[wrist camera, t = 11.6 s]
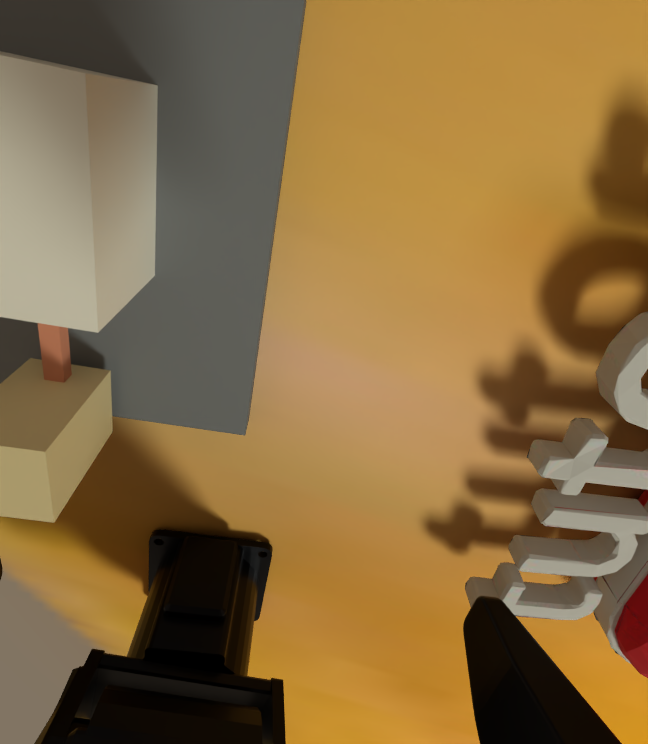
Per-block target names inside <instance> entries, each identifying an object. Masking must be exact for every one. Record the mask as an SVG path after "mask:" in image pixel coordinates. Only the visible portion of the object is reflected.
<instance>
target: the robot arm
mask: <svg viewBox="0 0 648 744" xmlns="http://www.w3.org/2000/svg"><path fill="white" fill-rule="evenodd" d="M263 551H264V552H263ZM271 557H272V546H271V545H270V544H269V543H266V542H259V541H251V540H243V539H235V538H227V537H218V536H210V535H202V534H194V533H186V532H177V531H169V530H155V531H154V532H152V535H151V537H150V540H149V594H148V597H147V600H146V603H145V606H144V609H143V611H142V614H141V617H140V620H139V623H138V626H137V629H136V631H135V634H134V637H133V640H132V643H131V646H130V649H129V651H128V654H127V657H126V656H119V655H113V654H107V653H105V651H104V650H97V649H92V650H91V652H90V654H89V656H88V658H87V660H86V663H85V664H84V666H82V667H81V666H80V667H79V668H76V669H73V670H72V673H71V675H70V677H69V680H68V682H67V684H66V686H65V689H64V691H63V693H62V695H61V698H60V700H59V702H58V704H57V706H56V708H55V710H54V712H53V714H52V716H51V717H50V719H49V721H48V722H47V724H46V726H45V727H44V729H43V730H42V732H41V734H40V735H39V737H38V739H37V740H36V742H35V743H34V744H286V742H285V717H284V691H283V680H282V679H275V678H271V680H267V679H261V678H255V677H249V676H247V673H248V665H249V657H250V649H251V641H252V633H253V625H254V621H256V620H258V619H259V617H260V612H261V607H262V602H263V597H264V592H265V587H266V582H267V577H268V572H269V567H270V562H271ZM1 576H2V564H1V559H0V579H1ZM463 632H464V641H465V648H466V656H467V664H468V672H469V679H470V687H471V695H472V703H473V709H474V716H475V721H476V726H477V731H478V736H479V740H480V744H622V743H621V742H620V741H619V740H618V739H617V737H616V736H615V735H614V734H613V733H612V731H611V730H610V729H609V728H608V727H607V725H606V724H605V723H604V722H603V721H602V719H601V718H600V717H599V716H598V715H597V713H596V712H595V711H594V710H593V709H592V707H591V706H590V705H589V704H588V703H587V701H586V700H585V699H584V698H583V697H582V696H581V694H580V693H579V692H578V691H577V690H576V688H575V687H574V686H573V685H572V684H571V682H570V681H569V680H568V679H567V678H566V676H565V675H564V674H563V673H562V672H561V670H560V669H559V668H558V667H557V666H556V664H555V663H554V662H553V661H552V660H551V658H550V657H549V656H548V655H547V654H546V652H545V651H544V650H543V649H542V648H541V646H540V645H539V644H538V643H537V642H536V640H535V639H534V638H533V637H532V636H531V634H530V633H529V632H528V631H527V630H526V628H525V627H524V626H523V625H522V624H521V622H520V621H519V620H518V619H517V618H516V616H515V615H514V614H513V613H512V612H511V610H510V609H509V608H508V607H507V606H506V604H505V603H504V602H503V601H502V600H501V599H499V598H497V597H490V596H479V597H477V598H476V600H475V602H474V604H473V605H472V607H471V609H470V611H469V613H468V614H467V616H466V618H465V621H464V626H463Z"/></svg>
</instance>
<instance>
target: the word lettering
mask: <svg viewBox="0 0 648 744" xmlns="http://www.w3.org/2000/svg"><path fill="white" fill-rule="evenodd" d="M644 313H645V314H644ZM644 313H641V314H639V315H638V316H636V317H635V318H634V319H632V320H631V321H630V322H629V323H627V324H626V325H625V326H624V327H623V328H622V329H621V331H619V332H618V333H617V335H616V336H615V337H614V338H613V340H612V341H611V342H610V344H609V345H608V347H607V349H606V351H605V353H604V356H603V358H602V360H601V362H600V364H599V366H598V369H597V371H596V377H597V382H598V387H599V392H600V395H601V396H602V397H603V398H604V399H605V400H606V401H607V402H608V403H609V404H610V405H611V406H612V407H613V408H614V409H615V410H616V411H617V412H618V413H619V414H620V415H621V416H622V417H623V418H624V419H625V420H626V421H627V422H629V423H632V424H634V425H637V426H639V427H642V428H645V429H647V430H648V389H643V388H642V385H641V378H642V376H643V375H644V373H645V372H646V370H647V369H648V311H647V312H644ZM607 443H608V437H607V436H606V435H605V434H604V433H603V432H602V431H601V430H600V429H599V428H598V427H597V426H596V425H595V424H594V422H593V421H592V420H591V419H586V418H575V419H574V420H572V421H571V422H570V425H569V427H568V429H567V432H566V434H565V436H564V438H563V441H562V442H557V441H549V440H541V439H537V440H534V441H533V443H532V445H531V447H530V450H529V453H528V455H527V458H528V459H529V460H530V461H531V463H532V464H533V466H534V467H535V468H536V470H537V472H538V473H539V475H540V476H541V477H544V478H550V479H551V480H552V482H553V483H554V485H555V486H556V488H557V490H553V489H545V488H541V489H539V490H537V491H536V492H535V495H534V497H533V500H532V502H531V505H532V507H533V509H534V511H535V513H536V515H537V517H538V519H539V521H540V523H542V524H543V525H545V526H551V527H561V528H570V529H580V530H589V531H599V532H601V533H600V534H598V535H597V536H595V537H594V538H591V539H588V540H568V539H557V538H546V537H535V536H523V535H514V537H513V538H512V540H511V542H510V544H509V551H510V553H511V555H512V558H513V560H514V562H515V564H516V565H515V564H512V563H509V562H505V563H500V565H499V566H498V568H497V570H496V572H495V574H494V576H493V578H492V579H489V578H481V577H470V578H469V580H468V581H467V582H466V585H465V590H466V593H467V597H468V600H469V603H470V606H471V607H472V605H473V604H474V602H475V600H476V598H477V597H479V596H490V597H497V598H499V599H501V600H502V601H503V602H504V603H505V604H506V606H507V607H508V608H509V609H510V610H511V612H512V613H513V614H514V615H515V616H520V617H533V618H545V619H557V620H577V619H580V618H582V617H584V616H587V615H589V614H591V613H592V612H593V611H594V615H595V618H596V620H598V621H599V623H600V625H601V627H602V628H603V630H604V632H605V634H606V636H607V638H608V640H609V642H610V645H611V647H612V648H613V649H614V651H615V652H616V653H617V654H619V655H620V656H621V657H623V658H624V659H625V660H626V661H627V662H629V663H631V664H632V665H633V666H634V667H635V668H636V670H637V671H638V672H639V673H640V674H642V675H643V676H645V677H647V678H648V449H646V450H644V451H641V452H640V451H632V450H624V449H617V448H609V447H606V445H607ZM585 483H595V484H603V485H612V486H621V487H630V488H639V489H644V491H643V493H642V494H641V496H640V497H639V499H638V500H637V499H632V498H623V497H614V496H606V495H597V494H588V493H580V491H581V489H582V488H583V486H584V484H585ZM519 570H520V571H523V572H534V573H545V574H555V575H566V576H572V577H571V580H570V581H568V582H567V583H562V584H542V583H532V582H523V580H522V577H521V575H520V573H519ZM593 577H594V578H593Z"/></svg>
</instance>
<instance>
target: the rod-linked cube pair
mask: <svg viewBox="0 0 648 744" xmlns="http://www.w3.org/2000/svg"><path fill="white" fill-rule="evenodd" d="M157 98H158V85H154V84H149V83H145V82H140V81H136V80H131V79H126V78H122V77H117V76H113V75H108V74H103V73H99V72H94V71H90V70H85V69H80V68H76V67H71V66H67V65H62V64H57V63H53V62H48V61H44V60H39V59H34V58H30V57H25V56H21V55H16V54H11V53H7V52H2V51H0V317H4V318H10V319H16V320H22V321H29V322H35V323H38V331H39V340H40V348H41V357H42V360H40V359H33V358H30V359H29V360H28V361H26V362H25V363H24V364H23V365H22V366H21V367H19V368H18V369H17V370H16V371H15V372H14V373H12V374H11V375H10V376H9V377H8V378H7V379H5V380H4V381H3V382H2V383H1V384H0V516H3V517H11V518H20V519H28V520H36V521H45V522H53V523H54V522H55V521H56V519H57V518H58V516H59V514H60V513H61V511H62V510H63V508H64V507H65V505H66V504H67V502H68V500H69V499H70V497H71V496H72V494H73V493H74V491H75V489H76V488H77V486H78V485H79V483H80V482H81V480H82V479H83V477H84V475H85V474H86V472H87V471H88V469H89V468H90V466H91V465H92V463H93V461H94V460H95V458H96V457H97V455H98V454H99V452H100V450H101V449H102V447H103V446H104V444H105V443H106V441H107V440H108V438H109V436H110V435H111V433H112V432H113V425H112V397H111V370H105V369H98V368H92V367H85V366H79V365H72V364H71V359H70V347H69V335H68V328H72V329H78V330H84V331H90V332H96V333H98V332H99V331H100V330H101V329H102V328H103V327H104V326H105V325H106V324H107V323H108V322H109V321H110V320H111V319H112V318H113V317H114V316H115V315H116V314H117V313H118V312H119V311H120V310H121V309H122V308H123V307H124V306H125V305H126V304H127V303H128V302H129V301H130V300H131V299H132V298H133V297H134V296H135V295H136V294H137V293H138V292H139V291H140V290H141V289H142V288H143V287H144V286H145V285H146V284H147V283H148V282H149V281H150V280H151V279H152V278H153V277H154V276H155V233H156V166H157Z"/></svg>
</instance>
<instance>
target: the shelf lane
mask: <svg viewBox="0 0 648 744" xmlns="http://www.w3.org/2000/svg"><path fill="white" fill-rule="evenodd" d="M305 7H306V0H0V51H2V52H7V53H11V54H16V55H21V56H25V57H30V58H34V59H39V60H44V61H48V62H53V63H57V64H62V65H67V66H71V67H76V68H80V69H85V70H90V71H94V72H99V73H103V74H108V75H113V76H117V77H122V78H126V79H131V80H136V81H140V82H145V83H149V84H154V85H158V98H157V166H156V233H155V276H154V277H153V278H152V279H151V280H150V281H149V282H148V283H147V284H146V285H145V286H144V287H143V288H142V289H141V290H140V291H139V292H138V293H137V294H136V295H135V296H134V297H133V298H132V299H131V300H130V301H129V302H128V303H127V304H126V305H125V306H124V307H123V308H122V309H121V310H120V311H119V312H118V313H117V314H116V315H115V316H114V317H113V318H112V319H111V320H110V321H109V322H108V323H107V324H106V325H105V326H104V327H103V328H102V329H101V330H100V331H99V332H98V333H96V332H90V331H84V330H78V329H72V328H68V335H69V347H70V359H71V364H72V365H79V366H85V367H92V368H98V369H105V370H111V397H112V416H115V417H122V418H129V419H136V420H142V421H149V422H156V423H163V424H170V425H177V426H184V427H191V428H198V429H204V430H211V431H218V432H225V433H232V434H239V435H245V434H246V429H247V425H248V421H249V414H250V407H251V399H252V392H253V385H254V377H255V370H256V363H257V356H258V348H259V341H260V334H261V327H262V319H263V312H264V305H265V297H266V290H267V283H268V276H269V268H270V261H271V254H272V247H273V239H274V232H275V225H276V217H277V210H278V203H279V196H280V188H281V181H282V174H283V167H284V159H285V152H286V145H287V137H288V130H289V123H290V116H291V108H292V101H293V94H294V87H295V79H296V72H297V65H298V58H299V50H300V43H301V36H302V28H303V21H304V14H305ZM30 358H33V359H40V360H42V357H41V348H40V340H39V331H38V323H35V322H29V321H22V320H16V319H10V318H4V317H0V384H1V383H2V382H3V381H4V380H5V379H7V378H8V377H9V376H10V375H11V374H12V373H14V372H15V371H16V370H17V369H18V368H19V367H21V366H22V365H23V364H24V363H25V362H26V361H28V360H29V359H30Z"/></svg>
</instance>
